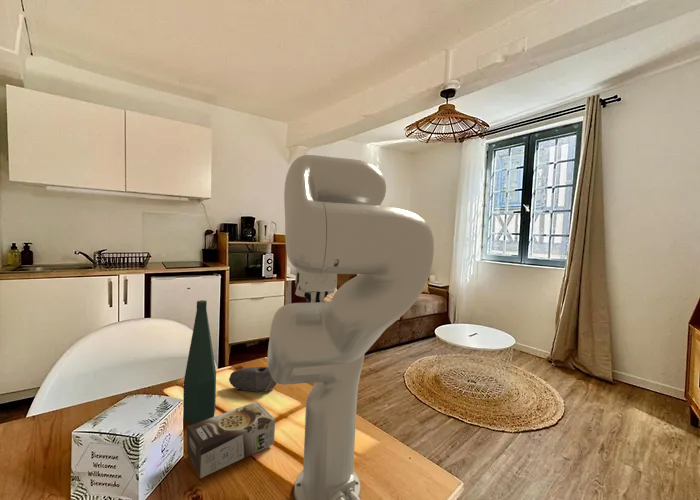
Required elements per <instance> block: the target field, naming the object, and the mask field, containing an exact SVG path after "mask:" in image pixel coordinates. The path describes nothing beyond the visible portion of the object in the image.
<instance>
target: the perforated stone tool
mask: <svg viewBox="0 0 700 500" xmlns="http://www.w3.org/2000/svg"><path fill="white" fill-rule="evenodd" d="M228 379H229V384H230V385H231V386H232V387H234V388H236V389H238V390H246V391H249V392H256V393H257V392H262V391H265V392H270V391H271V390H272V389H274V388H275V387H276V385H277V384H278V383H276V382H275V381H274V380H273V379H272V377H271V375H270V373H269V369H268V366H253V367H252V366H251V367H245V368H244V367H243V368H239V369H236V370H235V371H233V372H232V373H230V376H229V378H228Z"/></svg>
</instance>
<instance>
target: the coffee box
mask: <svg viewBox="0 0 700 500" xmlns="http://www.w3.org/2000/svg"><path fill="white" fill-rule="evenodd" d="M275 429H276V418H275V417H274V416H273V415H272V414H271V413H270V412H269V411H267V409H266V408H264V406H262V405H261V404H260V402H258V401H254V402H252V403H249V404H246V405H243V406H240V407H237V408H234V409H232V410H229V411H226V412H224V413H221V414H218V415H214V417H212V418H209V419H207V420H204V421H201V422H198V423H195V424H194V423H192V424H190V425H187V426H186V454H187V457H188V458H189V459H190V461H191V464H192V466H193V467H194V470H195V472H196V474H197V476H198V478H199V479H203V478H205V477H206V476H209V475H210V474H213V473H215V472H217V471H219V470H221V469H224V468H225V467H228V466H231V465H232V464H234V463H236V462H239V461H241V460H243V459H245V458H248V456H251V455H253V454H256V453H258V452H261V451H263V450H262V449H264V448H265V449H266V448H269V447H270V446H272V445H274V444H275V431H276V430H275ZM265 449H264V450H265ZM260 450H261V451H260Z"/></svg>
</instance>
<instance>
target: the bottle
mask: <svg viewBox="0 0 700 500" xmlns="http://www.w3.org/2000/svg"><path fill="white" fill-rule="evenodd" d="M207 307H208V306H207V300H197V301H196V312H195V318H194V323H193V329H192V333H191V334H192V335H191V339H190V344H189V352H188V356H187V362H186V367H185V373H184V380H183V400H182V401H183V403H182V406H183V407H184V421H183V422H185V423H189V424H195V423H198V422H201V421H204V420H207V419H209V418H212V417H215V414H216V400H217V399H216V396H217V395H216V393H217V389H216V387H217V370H216V369H217V368H216V364H215V363H216V362H215V357H214V356H215V355H214V350H213V344H212V336H211V332H210V331H211V330H210V325H209V316H208V309H207ZM183 407H182V408H183Z"/></svg>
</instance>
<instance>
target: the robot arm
mask: <svg viewBox="0 0 700 500" xmlns="http://www.w3.org/2000/svg"><path fill="white" fill-rule="evenodd" d="M386 192H387V183H386V179H385V177H384V175H383V173H382V172H381V171H380V170H379V169H378V167H376V166H375V165H373V164H371V163H369V162H368V161H364V160H361V159H355V158H346V157H345V158H343V157H334V156H326V155H316V154H304V155H303V154H302V155H301V156H299V157H297V158H296V159H295V160H294V161H293V162H292V163H291V164H290V166H289V168H288V171H287V172H286V177H285V182H284V194H283V196H284V197H283V199H284V200H283V203H284V232H285V233H284V235H285V251H286V256H287V258H288V261H289V262H290V264H291V265H292V266H293V267H294V269H296V270H295V278H294V279H295V280H294V283H295V293H294V294H295V295H296V296H298V297H301V298H304V299H305V300H306V302H293V303H288V304H285V305H282V306H280V307H279V308H278V309H277V310H276V312H275V313H274V315H273V318H272V322H271V325H270V332H269V339H268V340H269V341H268V348H267V349H268V350H267V367H268V369H269V373H270V375H271V377H272V379H273V380H274V381H275V382H276V383H277V384H278V385H300V384H310V383H311V384H312V383H314V384H313V386H312V388H311V390H310V391H309V394H308V395H307V398H306V401H305V402H306V403H305V414H304V416H305V418H304V419H305V420H304V444H303V447H304V448H303V468H302V470H301V471H300V472H299V474H298V475H297V476H296V478H295V481H294V486H293V487H294V489H293V490H294V491H293V493H294V494H293V495H294V500H362V499H361V498H360V497H361V487H362V486H361V481H360V478H359V476H358V474H357V473H356V472H355V471H354V466H355V465H354V464H355V463H354V462H355V461H354V460H355V446H356V445H355V444H356V443H355V440H356V422H357V404H358V394H359V393H358V391H359V384H360V377H361V374H362V369H363V365H364V360H365V354H366V353H367V352H368V351H369V350H370V348H371V347H372V346H373V345H374V343H376V341H377V340H379V338H380V337H382V336H381V335H382V334H383V333H384V332H385V331H386V330H387V329H388V328H389V327H390V326H391V325H393V324H395V322H396V321H397V320H399V319H400V318H401V317H403V316H404V314H405V313H406V312H408V311H409V310H410V308H412V306H414V304H415V303H416V301H417V300H418V299H419V297H420V296H421V294H422V293H423V291H424V289H425V287H426V285H427V282H428V279H429V277H430V274H431V271H432V266H433V262H434V254H435V253H434V252H435V243H434V242H435V241H434V236H433V232H432V230H431V227H430V225H429V223H427V222H426V220H425V219H424V218H422V217H421V216H419V215H418V214H416V213H414V212H412V211H410V210H407V209H406V210H405V209H402V208H400V207H399V208H398V207H393V206H386V205H382V204H383V201H384V199H385V197H386ZM338 275H356V276H354V277H353V278H350V280H347V281H346V282H344V284H342V285H341V286H340V287H339V288H338V289H337V285H338ZM336 289H337V290H336ZM335 290H336V292H335ZM331 294H333V296H332V298H331V300H330V301H326V302H324V301H325V299H326V298H327V296H329V295H331Z"/></svg>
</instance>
